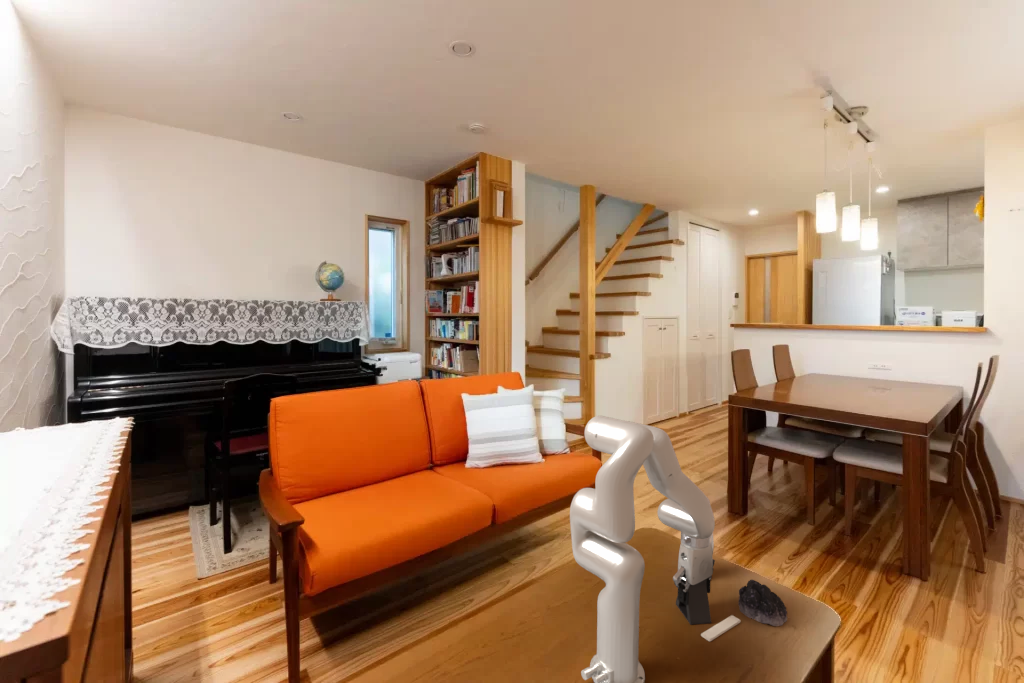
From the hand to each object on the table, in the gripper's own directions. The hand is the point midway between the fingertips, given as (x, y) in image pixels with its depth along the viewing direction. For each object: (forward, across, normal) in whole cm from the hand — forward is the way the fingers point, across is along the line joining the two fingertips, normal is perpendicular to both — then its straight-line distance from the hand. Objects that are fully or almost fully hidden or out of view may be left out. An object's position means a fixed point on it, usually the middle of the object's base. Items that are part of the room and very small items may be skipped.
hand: (694, 596), depth 127 cm
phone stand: (+5, 0, 0) cm, 5 cm away
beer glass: (+5, +18, +10) cm, 21 cm away
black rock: (+6, +17, -10) cm, 20 cm away
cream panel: (+5, 0, -8) cm, 9 cm away
